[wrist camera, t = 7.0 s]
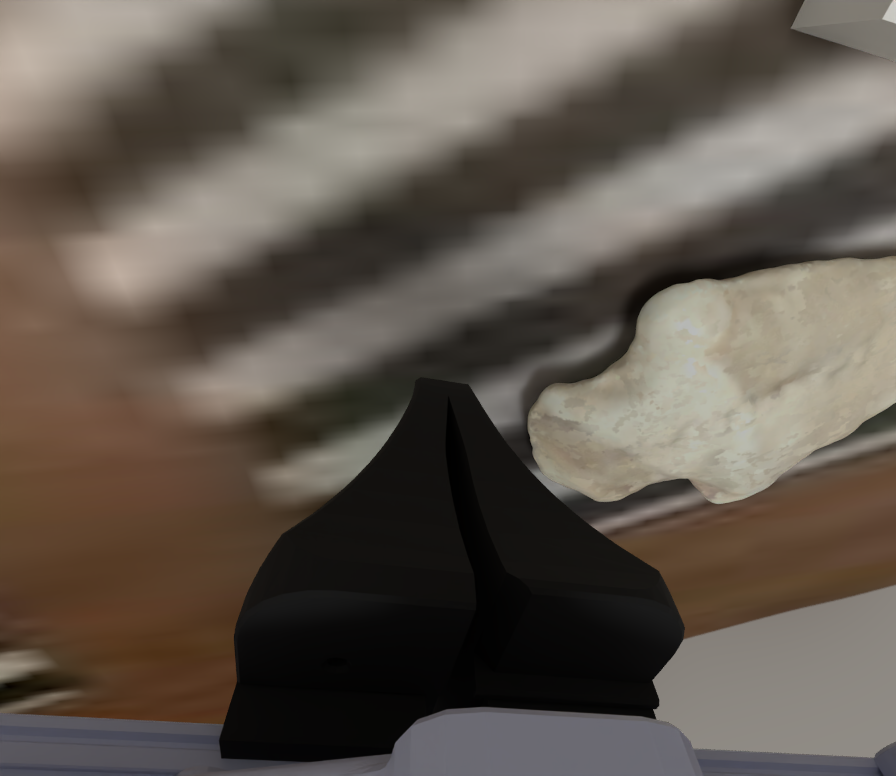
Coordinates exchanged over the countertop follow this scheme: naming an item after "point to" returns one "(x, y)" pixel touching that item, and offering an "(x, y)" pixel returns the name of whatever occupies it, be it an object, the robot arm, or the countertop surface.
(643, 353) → the rock
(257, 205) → the countertop surface
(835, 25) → the digit one block
